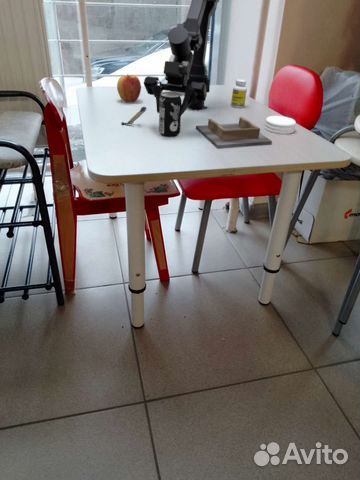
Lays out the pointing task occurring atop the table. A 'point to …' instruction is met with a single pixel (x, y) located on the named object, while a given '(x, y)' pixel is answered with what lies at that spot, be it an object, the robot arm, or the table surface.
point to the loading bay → (233, 134)
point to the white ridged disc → (280, 124)
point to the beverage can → (169, 114)
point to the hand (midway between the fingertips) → (168, 113)
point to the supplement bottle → (239, 94)
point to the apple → (129, 88)
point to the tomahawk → (134, 117)
